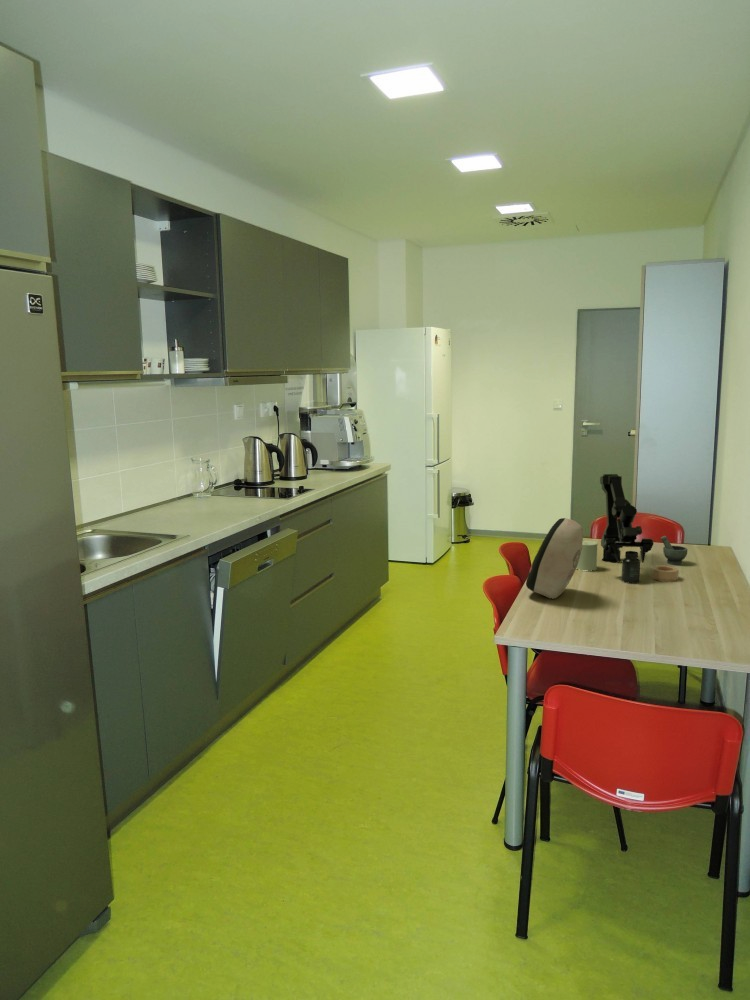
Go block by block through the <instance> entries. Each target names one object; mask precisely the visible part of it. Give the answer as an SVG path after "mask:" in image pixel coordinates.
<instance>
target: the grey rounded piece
mask: <svg viewBox="0 0 750 1000" xmlns="http://www.w3.org/2000/svg"><path fill="white" fill-rule="evenodd" d="M583 539H584V529H583V526H582V525H581V524H579V523H578V522H577V521H576V520H573V519H571V518H566V517H564V518H559V519H558V520H557V521H555V523H554V524H552V526H551V527H550V529H549V531H548V532H547V534H546V536H545V537H544V539H543V540H542V543H541V544H540V546H539V548H538V550H537V551H536V554H535V556H534V558H533V561H532V563H531V565H530V568H529V571H528V574H527V578H526V582H525V586H526V588H527V589H529V590H530V591H532V592H533V593H537V594H539V595H542V596H544V597H546V598H548V599H551V598H552V600H555V599H556V598H558V597H559V596H560V595H562V594H563V592H564V591H565V590H566V588H567V587H568V585H569V583H570V581H571V580H572V578H573V576H574V574H575V573H576V568H577V565H578V562H579V559H580V555H581V550H582V543H583ZM554 598H555V599H554Z"/></svg>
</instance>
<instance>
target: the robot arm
mask: <svg viewBox="0 0 750 1000" xmlns="http://www.w3.org/2000/svg"><path fill="white" fill-rule="evenodd" d="M622 480H623V479H622V475H618V473H603V474H602V476H600V477H599V484H600V485H601V490H602V491H603V493H604V494H605V506H606V507H605V509H606V511H605V512H606V526H605V529H604V530H603V533H602V536H601V539H600V546H601V548H603V550H602V551H603V554H602V556H603V557H602V559H601V561H602V560H603V562H609V561H610V563H619V564H620V563H621V550H620V549H623V547H625V548H630V547H631V548H638V547H639V549H640V550H639V552H640V553H639V554H640V562H641V563H642V564H644V563H645V557H646V553H648V552H650V551H652V548H653V546H654V540H653V539H652V538H649V537H648V538H646V537H645V538H642V539H641V541H636V540H637V537H638V535H639V536H640V535H642V534H643V529H642V525H637V526H635V527H633V525H632V524H633V522H634V521H635V518H636V516H637V513H638V510H637V508H636V507H635V506H634V505H631V502H630V501H629V500H628V499H626V497H625V493H624V490H623V489H624V488H623V486H622V483H623V482H622Z"/></svg>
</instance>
